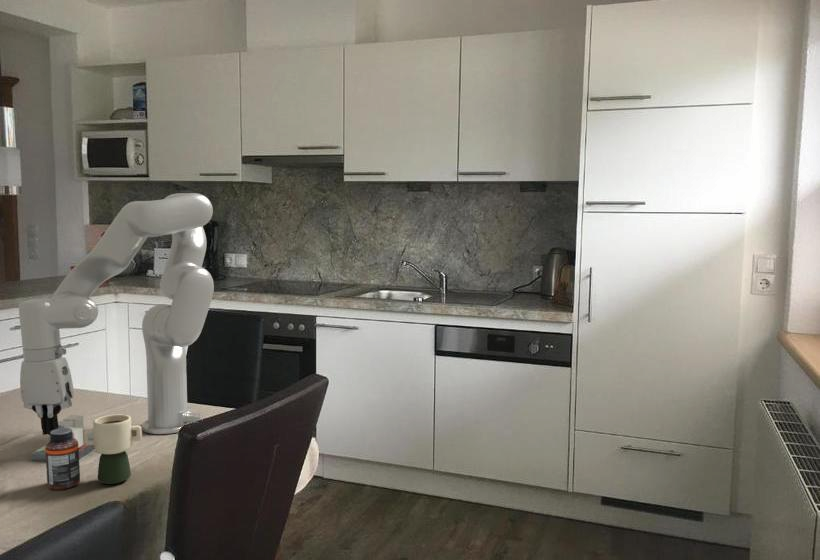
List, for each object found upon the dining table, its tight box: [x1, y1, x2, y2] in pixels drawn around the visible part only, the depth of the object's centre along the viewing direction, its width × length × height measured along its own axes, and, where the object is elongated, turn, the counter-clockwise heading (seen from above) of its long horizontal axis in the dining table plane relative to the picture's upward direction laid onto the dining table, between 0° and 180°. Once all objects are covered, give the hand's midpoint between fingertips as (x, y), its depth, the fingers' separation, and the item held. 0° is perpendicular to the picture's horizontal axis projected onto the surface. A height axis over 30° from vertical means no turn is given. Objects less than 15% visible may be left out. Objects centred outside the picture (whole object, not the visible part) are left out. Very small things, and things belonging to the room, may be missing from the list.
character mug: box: [83, 413, 143, 485], centre depth 138 cm, size 11×7×13 cm, turn 108°
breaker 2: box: [62, 414, 85, 432], centre depth 162 cm, size 3×3×4 cm
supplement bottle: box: [44, 428, 81, 491], centre depth 136 cm, size 6×6×11 cm
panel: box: [30, 434, 95, 462], centre depth 158 cm, size 10×16×2 cm, turn 176°
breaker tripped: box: [70, 427, 83, 447], centre depth 153 cm, size 3×3×4 cm
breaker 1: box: [58, 420, 73, 429], centre depth 158 cm, size 3×3×4 cm
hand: (50, 432), depth 154 cm, fingers closed
